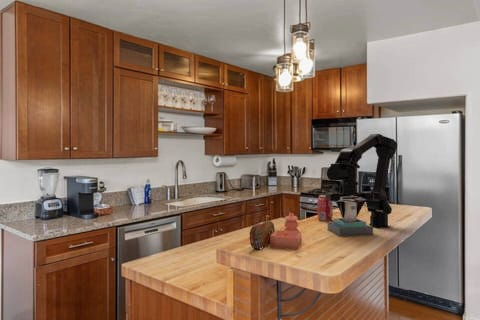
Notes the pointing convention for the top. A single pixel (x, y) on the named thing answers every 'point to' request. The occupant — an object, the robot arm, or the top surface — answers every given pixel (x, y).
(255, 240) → the brown rounded slab
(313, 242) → the top surface
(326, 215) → the soda can
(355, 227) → the teal-collared square flange
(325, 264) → the top surface
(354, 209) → the grey rounded block
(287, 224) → the pottery
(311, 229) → the top surface
